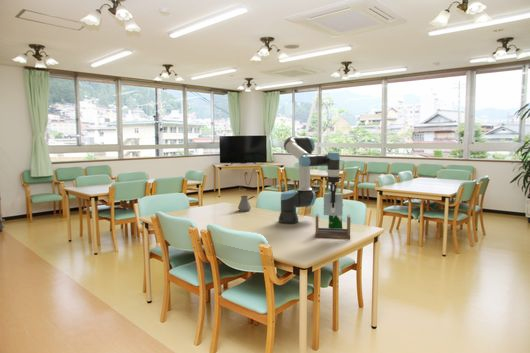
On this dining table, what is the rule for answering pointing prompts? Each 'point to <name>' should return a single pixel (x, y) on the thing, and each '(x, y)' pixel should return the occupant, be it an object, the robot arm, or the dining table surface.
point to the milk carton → (335, 221)
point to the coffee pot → (244, 204)
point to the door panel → (337, 204)
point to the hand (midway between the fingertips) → (333, 211)
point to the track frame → (333, 231)
